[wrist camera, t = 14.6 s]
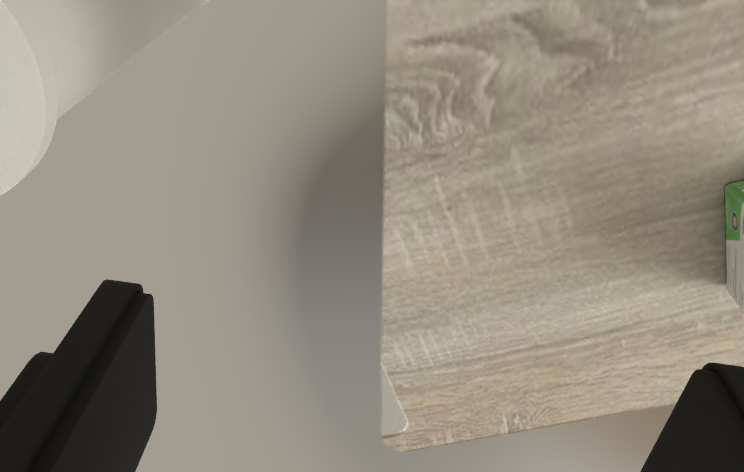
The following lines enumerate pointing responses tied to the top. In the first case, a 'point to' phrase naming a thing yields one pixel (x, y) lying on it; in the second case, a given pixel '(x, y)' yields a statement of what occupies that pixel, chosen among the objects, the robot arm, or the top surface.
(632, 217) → the top surface
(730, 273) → the ink box
